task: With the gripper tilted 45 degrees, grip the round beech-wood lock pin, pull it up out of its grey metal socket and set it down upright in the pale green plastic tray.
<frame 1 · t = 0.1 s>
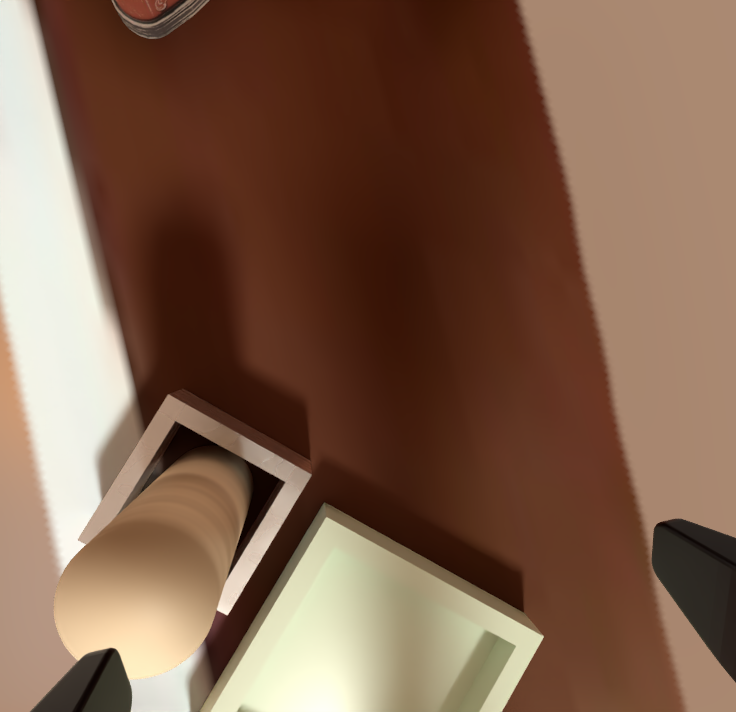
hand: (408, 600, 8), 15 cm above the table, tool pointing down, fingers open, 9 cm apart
pin socket: (209, 488, 22), on the table
tray: (365, 666, 24), on the table
lock pin: (183, 529, 17), in the pin socket
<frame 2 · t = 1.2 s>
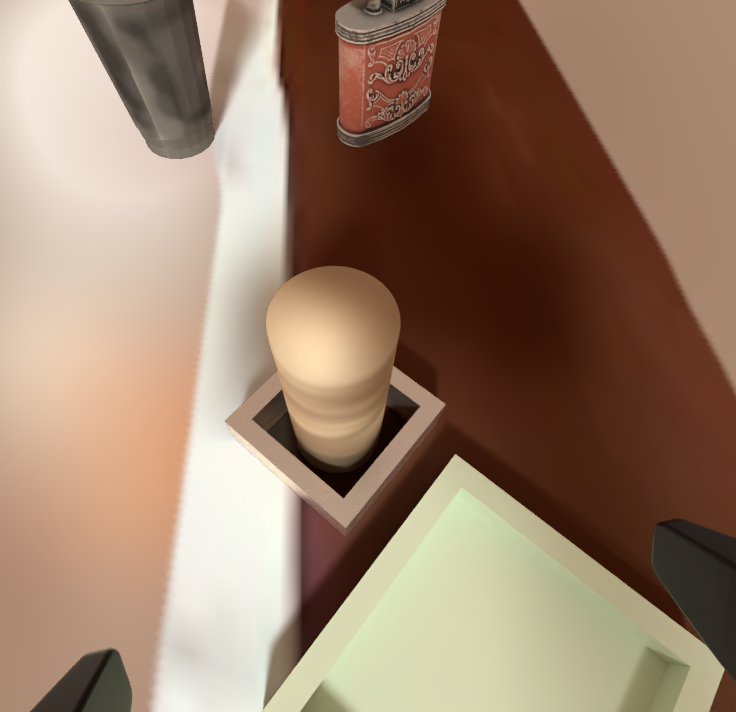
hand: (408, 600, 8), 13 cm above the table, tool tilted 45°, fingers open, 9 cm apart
beverage cup: (181, 138, 33), on the table
pin socket: (338, 432, 23), on the table
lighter: (384, 120, 35), on the table
tray: (485, 683, 18), on the table
lock pin: (336, 388, 19), in the pin socket
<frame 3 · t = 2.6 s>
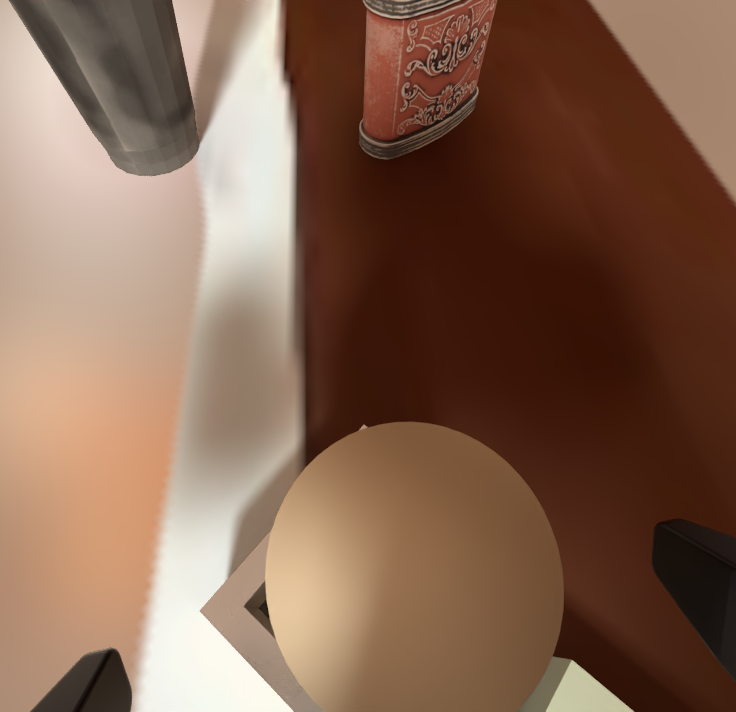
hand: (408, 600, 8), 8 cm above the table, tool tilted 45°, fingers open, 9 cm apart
beverage cup: (156, 149, 25), on the table
pin socket: (375, 595, 15), on the table
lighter: (418, 124, 27), on the table
lock pin: (387, 585, 11), in the pin socket
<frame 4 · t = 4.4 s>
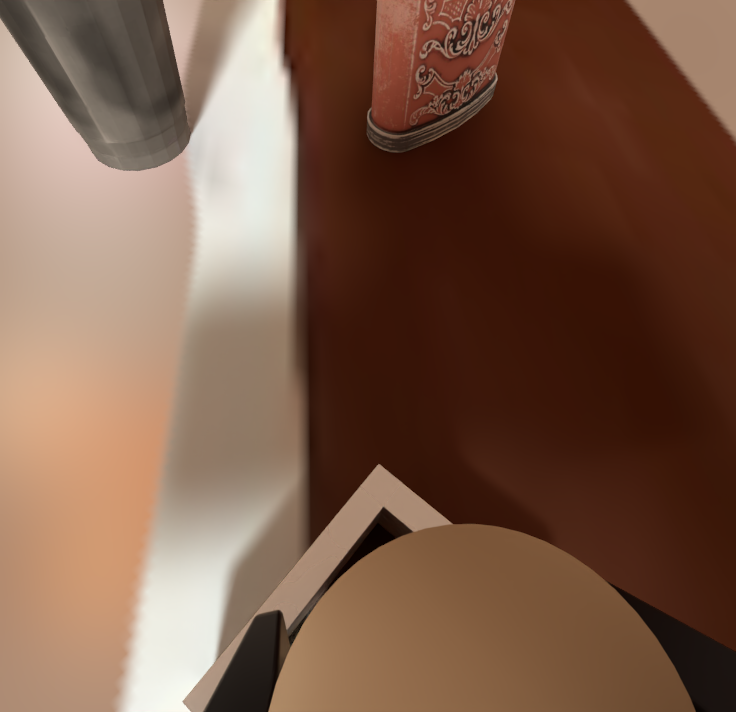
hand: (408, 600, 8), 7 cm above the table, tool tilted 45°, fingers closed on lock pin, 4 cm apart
beverage cup: (142, 141, 23), on the table
pin socket: (392, 664, 13), on the table
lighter: (431, 114, 25), on the table
lock pin: (416, 687, 9), in the pin socket, touching gripper
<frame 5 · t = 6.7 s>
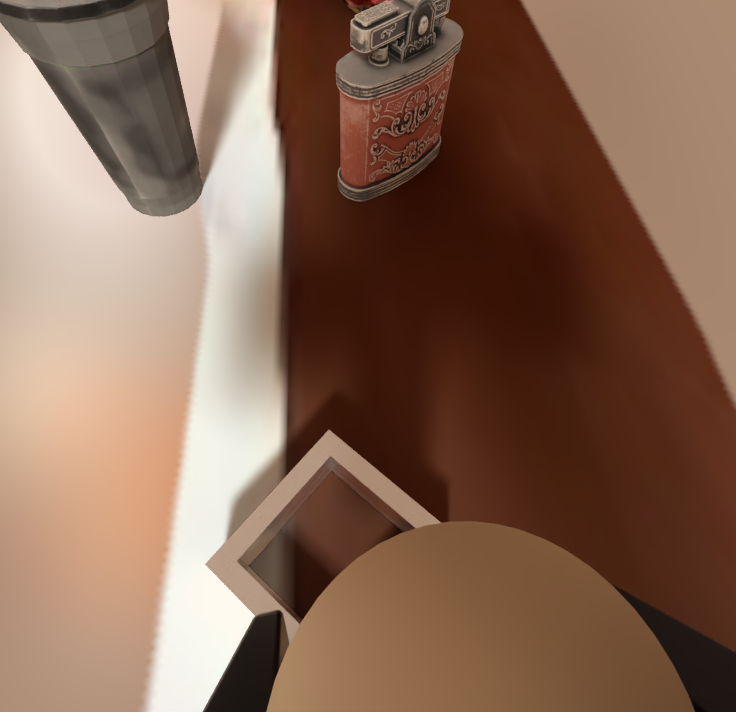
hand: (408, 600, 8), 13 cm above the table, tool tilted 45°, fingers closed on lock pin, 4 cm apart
beverage cup: (166, 191, 30), on the table
pin socket: (336, 557, 20), on the table
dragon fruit: (370, 0, 41), on the table
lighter: (389, 168, 32), on the table
lock pin: (415, 686, 9), point 12 cm above the table, touching gripper
when the fingers open (9 cm above the table, at t = 9.4 s): lock pin drops 2 cm, resting on tray.
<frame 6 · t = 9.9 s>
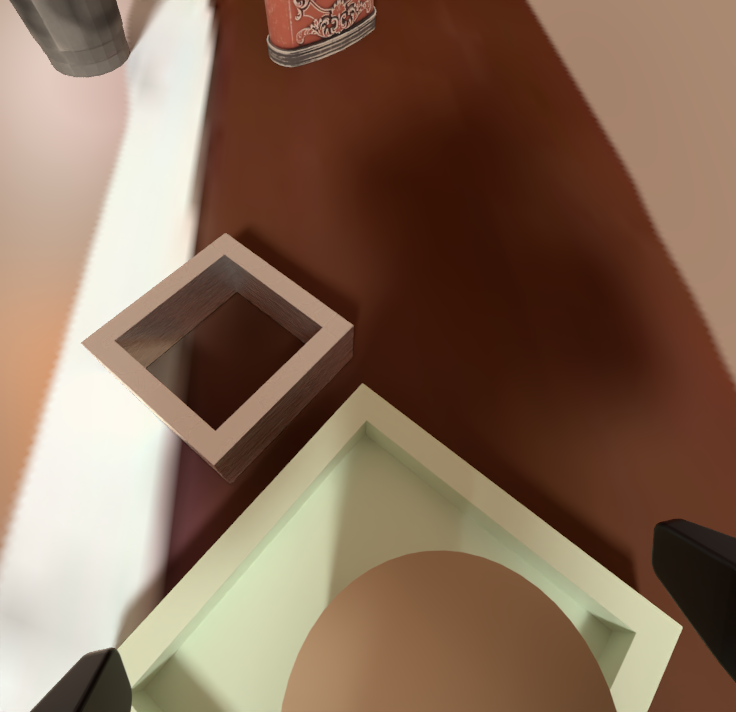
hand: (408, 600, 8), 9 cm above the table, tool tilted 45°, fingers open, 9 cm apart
beverage cup: (92, 58, 29), on the table
pin socket: (234, 365, 19), on the table
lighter: (324, 41, 31), on the table
tray: (386, 657, 15), on the table
lock pin: (405, 681, 10), in the tray, point 6 cm above the table
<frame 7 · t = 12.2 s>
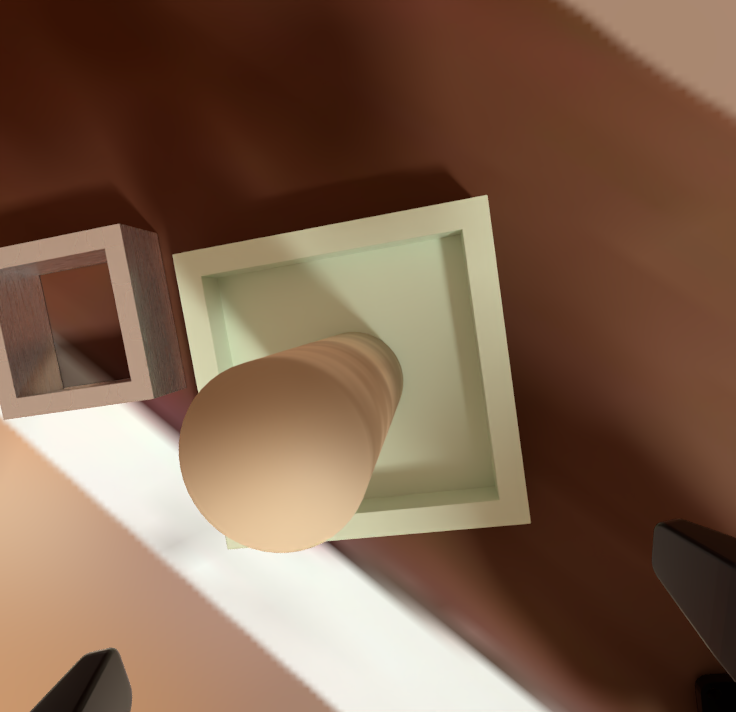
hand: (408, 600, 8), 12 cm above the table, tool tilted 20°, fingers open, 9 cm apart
pin socket: (102, 323, 21), on the table
tray: (356, 378, 20), on the table
lock pin: (326, 406, 15), in the tray, point 6 cm above the table
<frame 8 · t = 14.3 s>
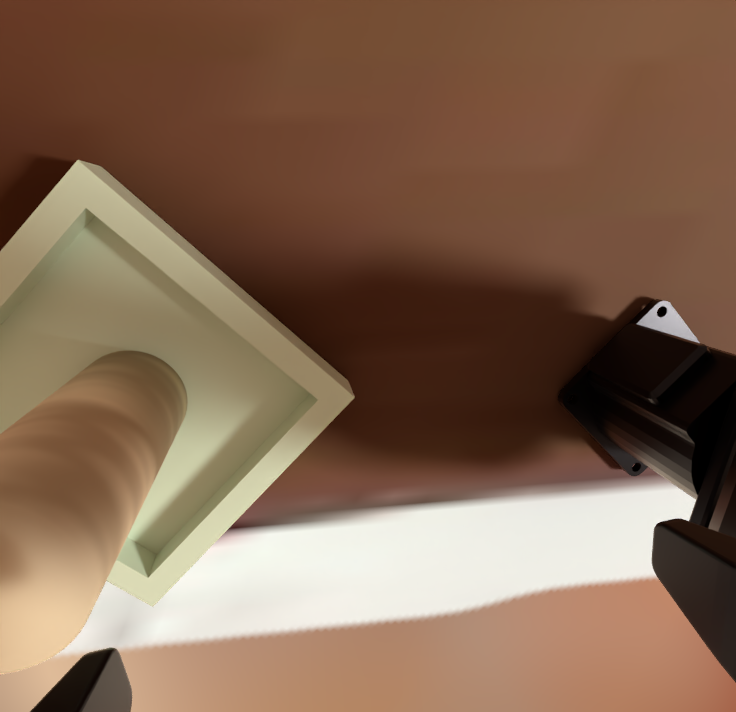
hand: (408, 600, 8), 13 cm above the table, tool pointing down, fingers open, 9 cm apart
tray: (136, 394, 19), on the table
lock pin: (82, 463, 14), in the tray, point 6 cm above the table
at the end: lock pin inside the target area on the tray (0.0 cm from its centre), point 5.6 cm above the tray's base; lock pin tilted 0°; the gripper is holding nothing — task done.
